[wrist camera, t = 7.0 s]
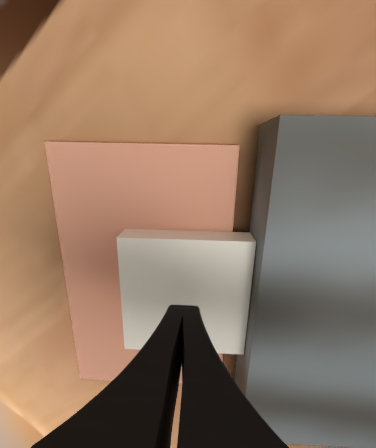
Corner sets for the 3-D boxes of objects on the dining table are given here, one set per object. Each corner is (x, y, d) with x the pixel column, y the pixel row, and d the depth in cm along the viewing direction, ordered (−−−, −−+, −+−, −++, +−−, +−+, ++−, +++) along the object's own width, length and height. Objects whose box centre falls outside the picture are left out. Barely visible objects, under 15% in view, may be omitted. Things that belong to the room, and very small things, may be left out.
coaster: (239, 335, 15) (243, 354, 13) (131, 330, 15) (124, 348, 14) (249, 232, 13) (256, 242, 11) (125, 228, 13) (116, 237, 12)
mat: (219, 380, 16) (220, 386, 16) (82, 373, 17) (79, 378, 16) (238, 145, 12) (239, 145, 12) (49, 142, 12) (44, 141, 12)
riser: (402, 401, 16) (445, 453, 13) (232, 392, 17) (240, 441, 14) (507, 129, 11) (614, 119, 8) (259, 125, 12) (280, 114, 9)
